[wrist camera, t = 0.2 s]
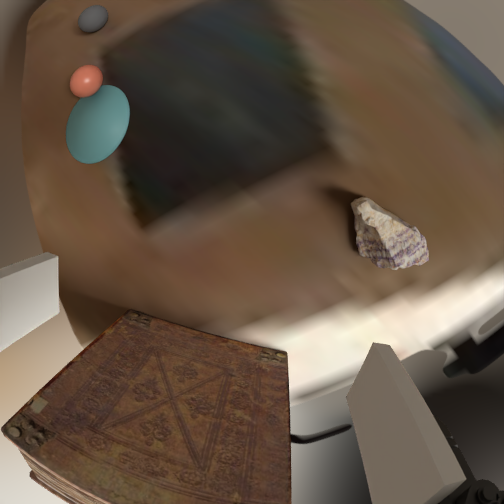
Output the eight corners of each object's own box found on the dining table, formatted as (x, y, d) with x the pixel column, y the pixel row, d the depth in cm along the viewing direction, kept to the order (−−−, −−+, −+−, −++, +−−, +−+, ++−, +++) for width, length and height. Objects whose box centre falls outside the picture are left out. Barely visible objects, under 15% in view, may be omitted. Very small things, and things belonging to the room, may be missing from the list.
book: (128, 353, 43) (27, 475, 14) (130, 308, 41) (-4, 427, 12) (272, 395, 42) (259, 564, 13) (288, 351, 40) (290, 545, 11)
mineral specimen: (327, 236, 36) (337, 245, 30) (352, 189, 35) (366, 189, 29) (400, 277, 37) (418, 292, 31) (422, 234, 35) (444, 242, 29)
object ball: (88, 72, 34) (70, 62, 28) (113, 69, 33) (95, 58, 28) (79, 101, 35) (59, 94, 30) (103, 100, 35) (83, 92, 29)
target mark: (67, 101, 35) (66, 101, 35) (129, 74, 34) (128, 74, 33) (68, 172, 38) (67, 172, 37) (132, 151, 36) (131, 151, 36)
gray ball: (95, 15, 31) (80, 4, 26) (117, 11, 31) (103, -3, 25) (84, 38, 32) (67, 27, 27) (106, 34, 32) (90, 22, 27)
